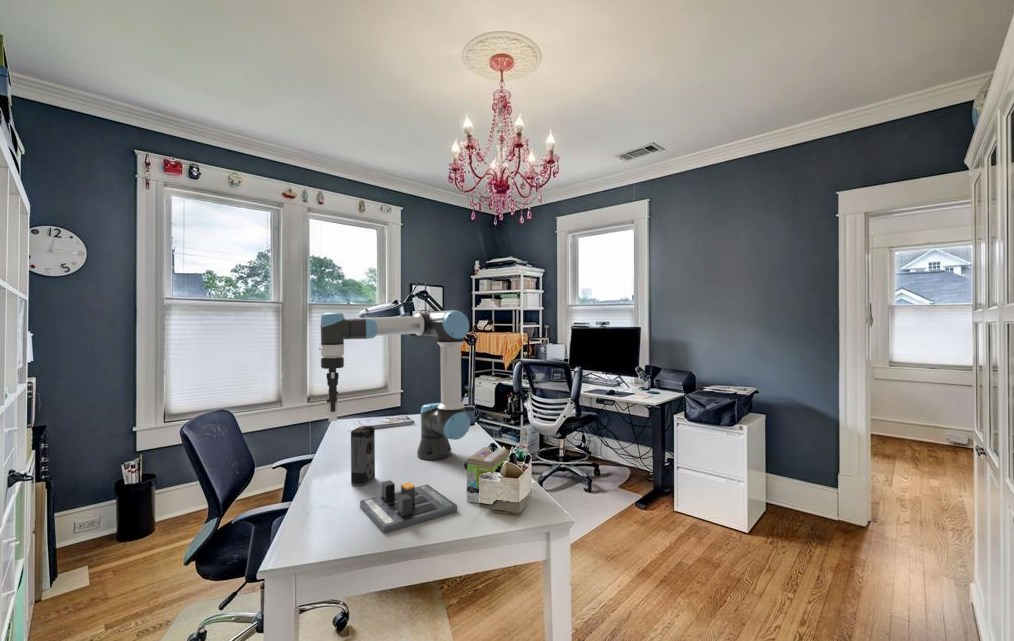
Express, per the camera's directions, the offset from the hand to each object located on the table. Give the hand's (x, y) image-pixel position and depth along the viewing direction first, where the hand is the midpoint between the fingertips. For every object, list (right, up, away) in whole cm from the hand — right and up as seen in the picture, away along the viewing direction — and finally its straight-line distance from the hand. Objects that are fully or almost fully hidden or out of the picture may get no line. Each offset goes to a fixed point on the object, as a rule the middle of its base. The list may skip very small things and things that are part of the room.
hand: (332, 416), depth 156 cm
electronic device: (+7, -27, +11) cm, 30 cm away
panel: (+30, -27, -13) cm, 42 cm away
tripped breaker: (+30, -25, -13) cm, 41 cm away
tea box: (+55, -27, -3) cm, 61 cm away
